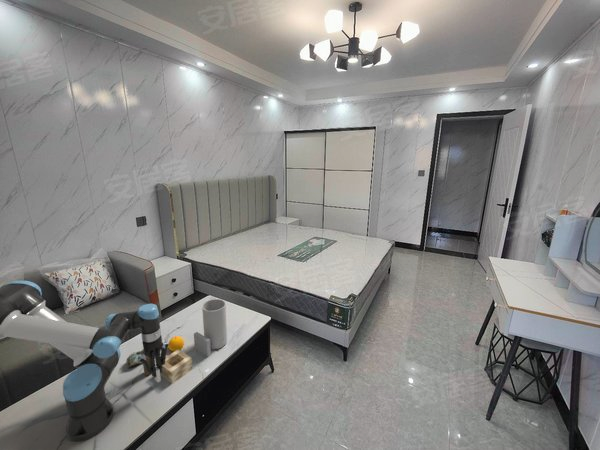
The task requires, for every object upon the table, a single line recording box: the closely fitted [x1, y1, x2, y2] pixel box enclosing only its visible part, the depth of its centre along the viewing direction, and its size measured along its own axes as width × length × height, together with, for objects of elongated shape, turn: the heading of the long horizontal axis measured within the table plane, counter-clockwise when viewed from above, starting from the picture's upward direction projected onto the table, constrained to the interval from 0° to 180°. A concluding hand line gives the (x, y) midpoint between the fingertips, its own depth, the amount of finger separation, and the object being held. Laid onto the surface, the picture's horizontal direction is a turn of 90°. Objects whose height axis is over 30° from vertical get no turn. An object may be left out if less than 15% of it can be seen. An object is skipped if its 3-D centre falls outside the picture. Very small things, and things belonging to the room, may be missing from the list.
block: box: [160, 349, 194, 384], centre depth 130 cm, size 11×11×6 cm
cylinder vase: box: [201, 298, 228, 351], centre depth 150 cm, size 12×12×25 cm
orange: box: [167, 335, 185, 353], centre depth 146 cm, size 8×8×8 cm
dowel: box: [140, 348, 152, 377], centre depth 128 cm, size 4×4×14 cm
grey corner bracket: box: [145, 331, 212, 394], centre depth 132 cm, size 29×11×11 cm, turn 148°
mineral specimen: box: [125, 350, 142, 369], centre depth 137 cm, size 12×9×8 cm
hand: (157, 380), depth 123 cm, fingers closed
